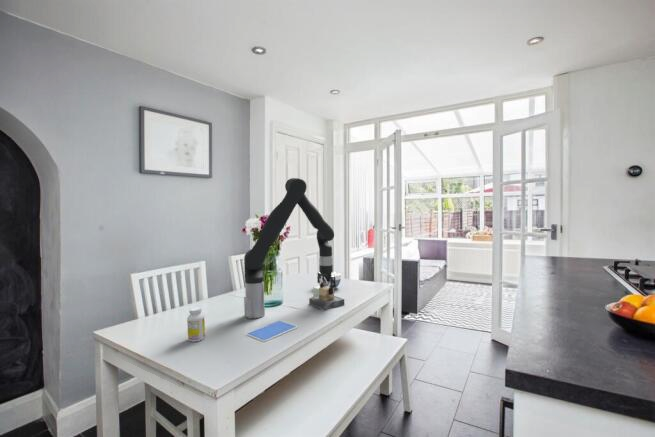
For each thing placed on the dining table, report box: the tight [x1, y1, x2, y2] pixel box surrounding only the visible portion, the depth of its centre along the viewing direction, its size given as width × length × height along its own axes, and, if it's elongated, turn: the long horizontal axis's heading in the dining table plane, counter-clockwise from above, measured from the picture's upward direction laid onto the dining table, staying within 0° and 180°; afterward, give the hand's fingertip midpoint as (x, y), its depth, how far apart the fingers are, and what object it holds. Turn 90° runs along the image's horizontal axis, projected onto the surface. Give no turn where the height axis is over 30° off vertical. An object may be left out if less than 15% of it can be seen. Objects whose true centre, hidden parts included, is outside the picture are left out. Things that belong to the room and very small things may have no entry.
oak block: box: [319, 286, 335, 301], centre depth 179 cm, size 6×6×6 cm
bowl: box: [316, 271, 342, 290], centre depth 213 cm, size 16×16×10 cm
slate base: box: [309, 295, 345, 310], centre depth 179 cm, size 14×14×3 cm
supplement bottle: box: [186, 306, 206, 343], centre depth 135 cm, size 7×7×13 cm
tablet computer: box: [246, 320, 298, 343], centre depth 142 cm, size 19×13×1 cm, turn 140°
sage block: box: [312, 285, 320, 298], centre depth 193 cm, size 6×6×6 cm
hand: (326, 292), depth 179 cm, fingers open, 8 cm apart
